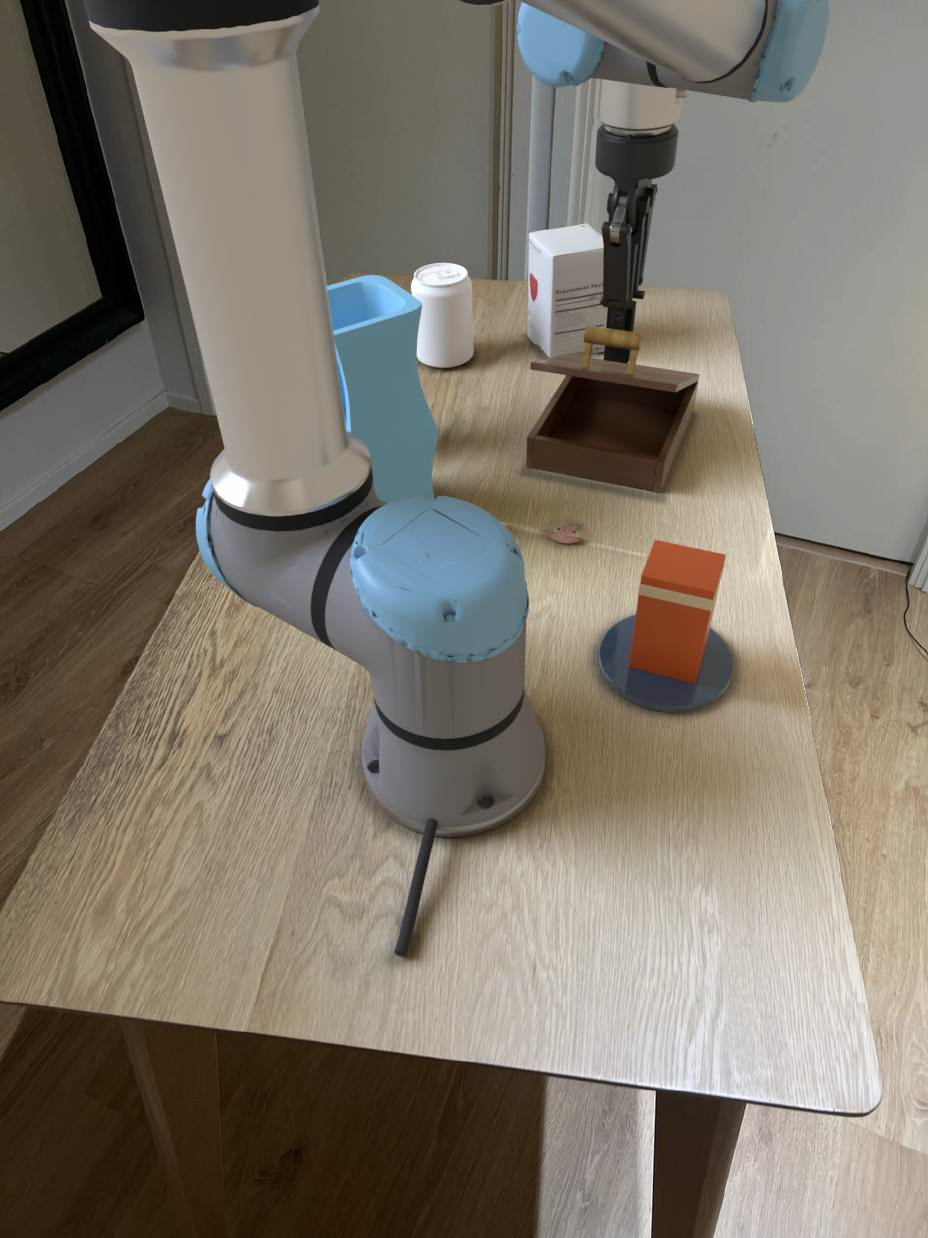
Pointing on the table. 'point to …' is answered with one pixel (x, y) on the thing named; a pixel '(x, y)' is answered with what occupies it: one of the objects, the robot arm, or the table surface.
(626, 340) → the chest lid
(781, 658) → the table surface
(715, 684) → the plate
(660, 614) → the box
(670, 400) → the chest
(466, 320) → the beverage can
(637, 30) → the robot arm
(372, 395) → the vase
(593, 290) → the white product box
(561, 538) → the cookie
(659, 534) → the table surface
